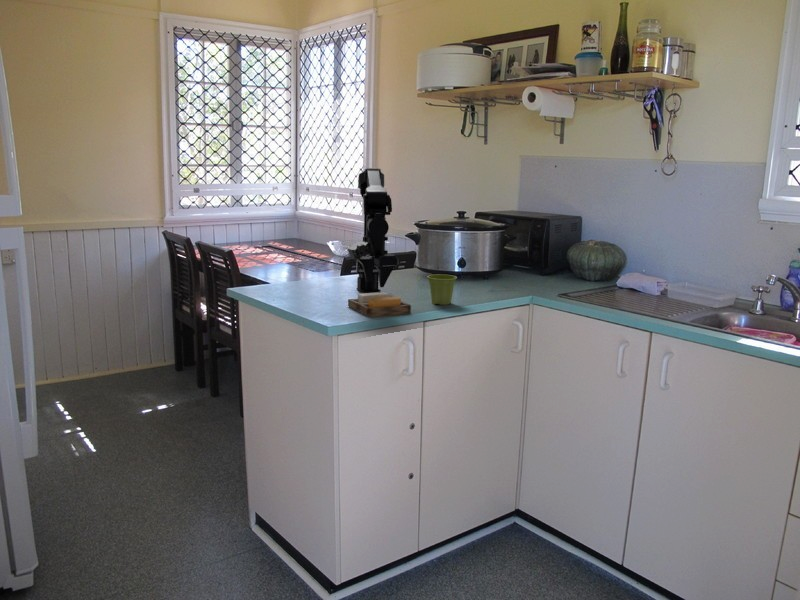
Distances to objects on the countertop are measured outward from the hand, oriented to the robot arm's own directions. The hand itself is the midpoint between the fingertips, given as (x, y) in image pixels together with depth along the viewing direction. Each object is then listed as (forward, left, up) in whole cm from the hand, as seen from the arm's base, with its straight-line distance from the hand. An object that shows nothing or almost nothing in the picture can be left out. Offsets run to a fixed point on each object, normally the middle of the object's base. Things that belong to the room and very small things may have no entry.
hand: (374, 284), depth 202 cm
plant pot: (-24, 0, -8) cm, 25 cm away
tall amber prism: (-1, +5, -7) cm, 9 cm away
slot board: (-1, +2, -8) cm, 8 cm away
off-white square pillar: (-1, -2, -7) cm, 7 cm away
